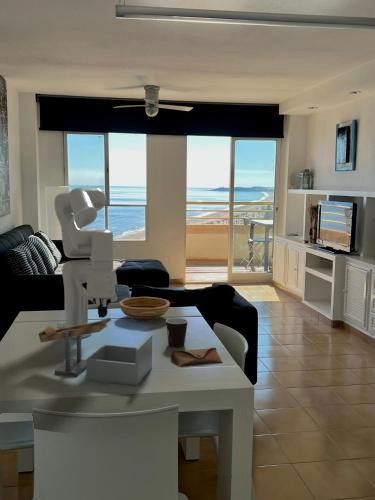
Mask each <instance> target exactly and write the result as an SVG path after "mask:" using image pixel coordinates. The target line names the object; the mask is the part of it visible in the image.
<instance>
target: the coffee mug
mask: <svg viewBox="0 0 375 500" xmlns="http://www.w3.org/2000/svg"><path fill="white" fill-rule="evenodd" d="M165 325H166V334H167V343H168V346H169V347H170V348H173V347H174V348H175V349H179V348H183V347H185V342H186V336H187V329H188V319H186V318H182V317H181V318H180V317H171V318H168V319H166V320H165Z"/></svg>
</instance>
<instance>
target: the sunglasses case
mask: <svg viewBox="0 0 375 500" xmlns="http://www.w3.org/2000/svg"><path fill="white" fill-rule="evenodd" d="M170 358H171V359H170V360H171V361H172V362H173V363H174V364H175V365H176V366H177V368H182V367H187V366H188V367H189V366H197V365H207V364H221V363H222V364H223V361H222V360H221V357H220V355H219V353H218V351H217V348H216V347H211V348H198V349H197V348H196V349H188V350H187V349H186V350H179V349H178V350H174V351H172V353H171V357H170Z"/></svg>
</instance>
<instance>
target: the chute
mask: <svg viewBox="0 0 375 500" xmlns="http://www.w3.org/2000/svg"><path fill="white" fill-rule="evenodd" d="M110 321H112V319H111V318H110V317H108V318H102V319H101V320H99V321H94V322H88V324H83V325H78V326H72V327H67V328H62V329H58V328H55V329H56V333H52V334H47V335H46V334H45V329H44V330H42V331H41V332H38V337H39V341H40V343H46V342H51V341H57V340H64V339H65V333H66V332H70V337H74V336H80V335H85V334H91V333H92V334H95V333H100V332H101V331H102V330H104V329H105V328H106V327H108V326H107V325H108V324H107V323H109V322H110ZM92 334H91V335H92Z"/></svg>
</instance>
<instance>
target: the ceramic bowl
mask: <svg viewBox="0 0 375 500" xmlns="http://www.w3.org/2000/svg"><path fill="white" fill-rule="evenodd" d="M118 304H119V309H120V311H121V312H122V313H123V314H124V315H125V316H127V317H129V318H131V319H132V320H133V321H135V322H141V323H146V322H147V323H149V322H153V321H156V320H157V319H158V318H160V317H162V316H163V315H165V314H166V313H167V312H168V310H169V308H170V305H171V302H170V301H169V300H167V299H165V298H160V297H151V296H138V297H137V296H136V297H128V298H125V299H122V300H120V301H119V302H118Z"/></svg>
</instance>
